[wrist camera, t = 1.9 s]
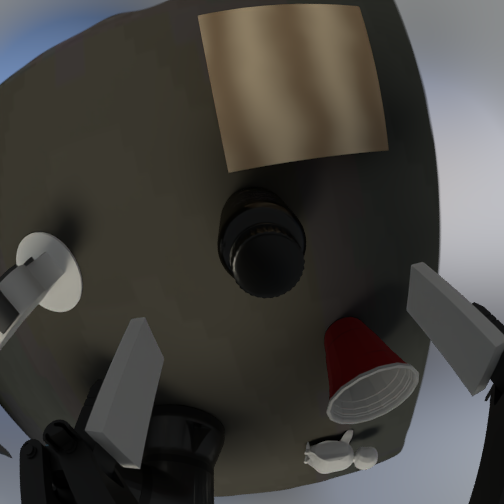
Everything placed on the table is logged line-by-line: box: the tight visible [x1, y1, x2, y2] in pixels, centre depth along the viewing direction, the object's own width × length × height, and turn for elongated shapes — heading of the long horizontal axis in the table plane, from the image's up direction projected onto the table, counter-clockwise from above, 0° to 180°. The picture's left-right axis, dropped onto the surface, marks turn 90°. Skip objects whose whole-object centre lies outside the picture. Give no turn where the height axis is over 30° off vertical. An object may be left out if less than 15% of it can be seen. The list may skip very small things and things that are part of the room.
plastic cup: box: [324, 317, 419, 424], centre depth 31 cm, size 11×11×12 cm
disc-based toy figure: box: [0, 232, 83, 350], centre depth 23 cm, size 12×11×15 cm
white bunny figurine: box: [304, 429, 378, 474], centre depth 45 cm, size 9×8×15 cm
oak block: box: [198, 4, 389, 173], centre depth 23 cm, size 15×15×4 cm
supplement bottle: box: [218, 187, 306, 298], centre depth 24 cm, size 7×7×12 cm
